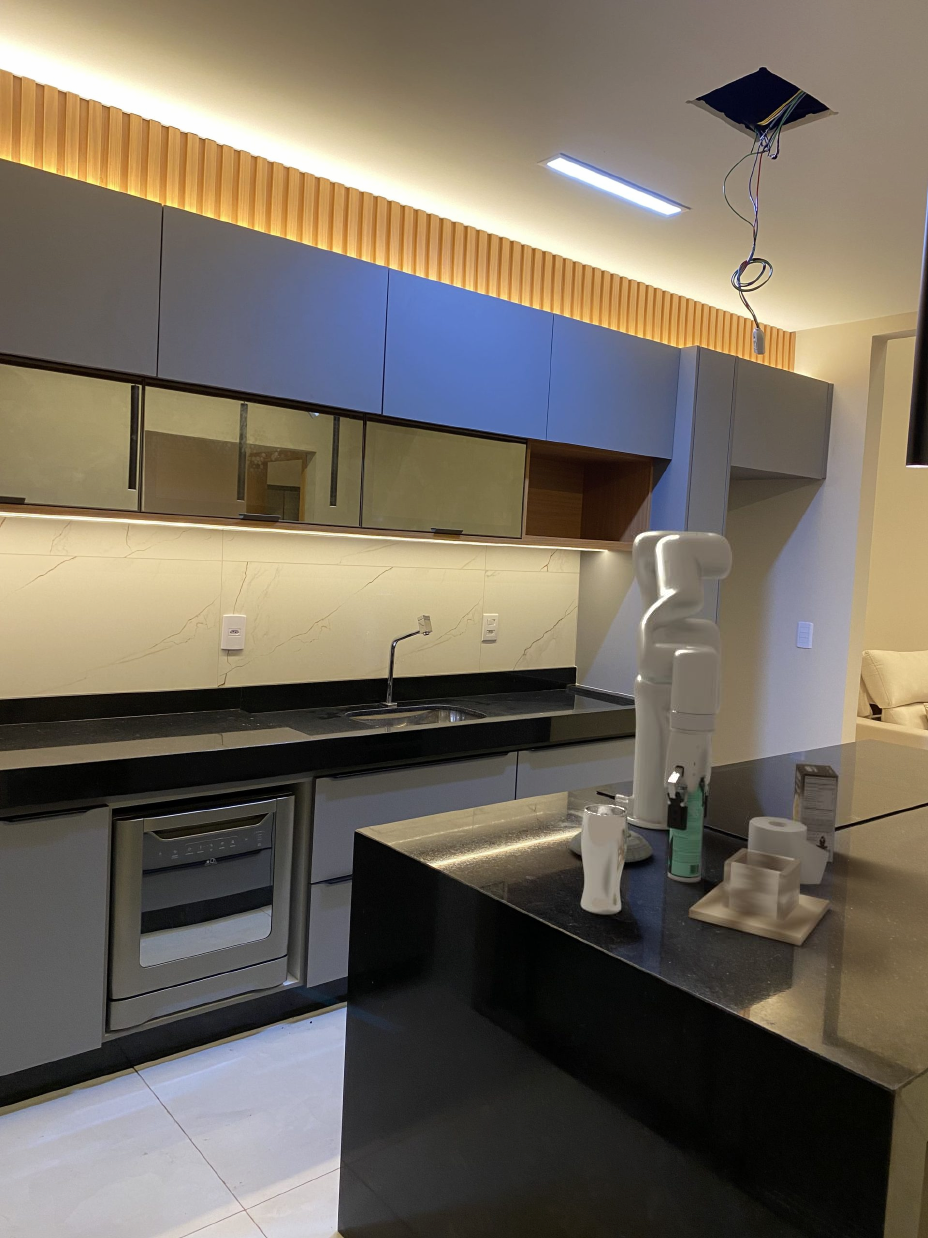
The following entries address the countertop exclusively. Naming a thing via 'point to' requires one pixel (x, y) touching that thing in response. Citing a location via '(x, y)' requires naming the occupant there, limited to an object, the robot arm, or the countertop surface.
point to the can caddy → (762, 898)
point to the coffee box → (816, 804)
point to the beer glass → (603, 856)
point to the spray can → (689, 840)
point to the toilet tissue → (788, 845)
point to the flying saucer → (635, 847)
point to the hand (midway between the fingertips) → (687, 822)
